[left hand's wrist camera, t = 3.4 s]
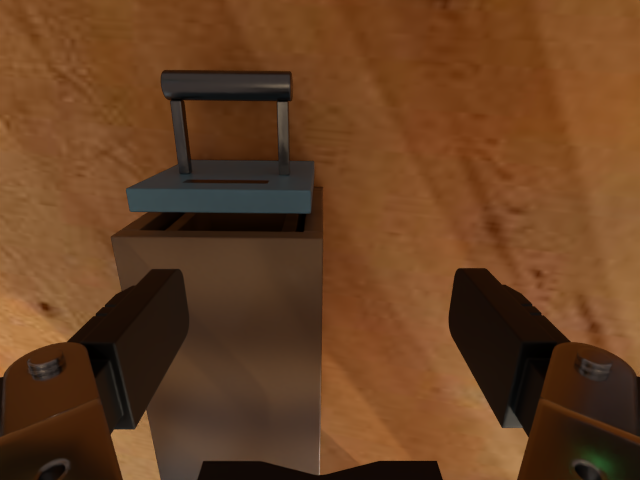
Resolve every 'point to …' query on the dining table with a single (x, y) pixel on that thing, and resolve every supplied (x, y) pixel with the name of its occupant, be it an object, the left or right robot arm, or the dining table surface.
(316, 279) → the brown sleeve box
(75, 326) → the dining table surface
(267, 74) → the drawer
